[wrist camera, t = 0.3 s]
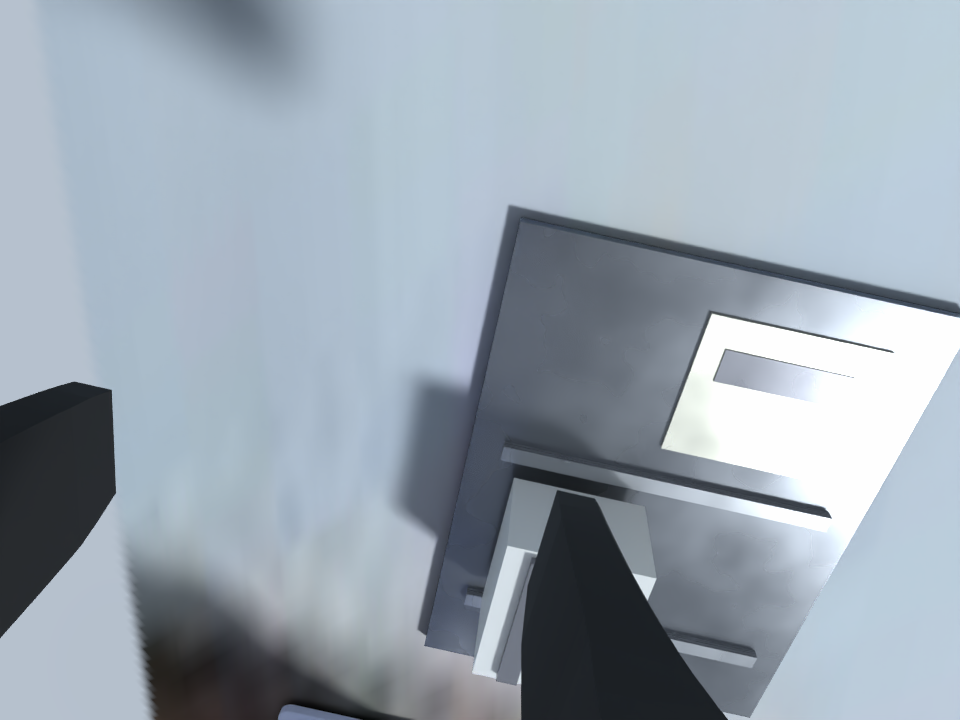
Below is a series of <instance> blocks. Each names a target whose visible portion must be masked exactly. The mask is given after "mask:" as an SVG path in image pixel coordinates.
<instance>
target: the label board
mask: <svg viewBox="0 0 960 720" xmlns="http://www.w3.org/2000/svg"><path fill="white" fill-rule="evenodd" d="M959 347H960V314H959V313H954V312H949V311H945V310H940V309H936V308H931V307H927V306H922V305H918V304H913V303H909V302H904V301H899V300H895V299H890V298H886V297H881V296H877V295H872V294H868V293H863V292H859V291H854V290H849V289H845V288H840V287H836V286H831V285H827V284H822V283H818V282H813V281H808V280H804V279H799V278H795V277H790V276H786V275H781V274H777V273H772V272H768V271H763V270H758V269H754V268H749V267H745V266H740V265H736V264H731V263H727V262H722V261H718V260H713V259H708V258H704V257H699V256H695V255H690V254H686V253H681V252H677V251H672V250H668V249H663V248H658V247H654V246H649V245H645V244H640V243H636V242H631V241H627V240H622V239H618V238H613V237H608V236H604V235H599V234H595V233H590V232H586V231H581V230H577V229H572V228H567V227H563V226H558V225H554V224H549V223H545V222H540V221H536V220H531V219H527V218H522V217H521V220H520V224H519V228H518V233H517V237H516V242H515V246H514V251H513V255H512V259H511V264H510V268H509V273H508V277H507V282H506V286H505V290H504V295H503V299H502V304H501V308H500V313H499V317H498V321H497V326H496V330H495V335H494V339H493V344H492V348H491V352H490V357H489V361H488V366H487V370H486V375H485V379H484V383H483V388H482V392H481V397H480V401H479V406H478V410H477V414H476V419H475V423H474V428H473V432H472V437H471V441H470V445H469V450H468V454H467V459H466V463H465V468H464V472H463V476H462V481H461V485H460V490H459V494H458V499H457V503H456V507H455V512H454V516H453V521H452V525H451V530H450V534H449V538H448V543H447V547H446V552H445V556H444V561H443V565H442V569H441V574H440V578H439V583H438V587H437V592H436V596H435V600H434V605H433V609H432V614H431V618H430V622H429V627H428V631H427V636H426V640H425V645H424V646H428V647H432V648H437V649H441V650H446V651H450V652H455V653H459V654H464V655H468V656H473V657H474V654H475V647H476V639H477V632H478V624H479V617H480V609H481V601H482V596H483V592H484V588H485V584H486V581H487V577H488V573H489V570H490V566H491V562H492V558H493V555H494V551H495V547H496V543H497V540H498V536H499V532H500V528H501V525H502V521H503V517H504V513H505V510H506V506H507V502H508V499H509V495H510V491H511V487H512V484H513V480H514V478H518V479H522V480H527V481H531V482H536V483H540V484H545V485H549V486H554V487H558V488H563V489H567V490H572V491H577V492H581V493H586V494H590V495H595V496H599V497H604V498H608V499H613V500H617V501H622V502H626V503H631V504H635V505H640V506H645V511H646V517H647V523H648V529H649V535H650V541H651V547H652V554H653V560H654V566H655V572H656V578H657V579H656V581H655V584H654V586H653V588H652V591H651V593H650V596H649V598H648V603H649V604H650V606H651V608H652V610H653V611H654V613H655V615H656V616H657V618H658V620H659V621H660V623H661V625H662V626H663V628H664V630H665V631H666V633H667V634H668V636H669V638H670V639H671V641H672V642H673V644H674V645H675V647H676V649H677V650H678V652H679V653H680V655H681V656H682V658H683V659H684V661H685V662H686V664H687V665H688V667H689V668H690V670H691V671H692V673H693V674H694V675H695V677H696V678H697V679H698V681H699V682H700V683H701V685H702V686H703V687H704V689H705V690H706V691H707V693H708V694H709V695H710V697H711V698H712V699H713V701H714V702H715V703H716V705H717V706H718V707H719V709H720V710H721V711H722V712H726V713H731V714H736V715H740V716H745V717H749V718H750V716H751V715H752V713H753V711H754V709H755V707H756V706H757V704H758V702H759V700H760V699H761V697H762V695H763V693H764V692H765V690H766V688H767V686H768V685H769V683H770V681H771V679H772V677H773V676H774V674H775V672H776V670H777V669H778V667H779V665H780V663H781V662H782V660H783V658H784V656H785V654H786V653H787V651H788V649H789V647H790V646H791V644H792V642H793V640H794V639H795V637H796V635H797V633H798V632H799V630H800V628H801V626H802V624H803V623H804V621H805V619H806V617H807V616H808V614H809V612H810V610H811V609H812V607H813V605H814V603H815V602H816V600H817V598H818V596H819V594H820V593H821V591H822V589H823V587H824V586H825V584H826V582H827V580H828V579H829V577H830V575H831V573H832V572H833V570H834V568H835V566H836V564H837V563H838V561H839V559H840V557H841V556H842V554H843V552H844V550H845V549H846V547H847V545H848V543H849V541H850V540H851V538H852V536H853V534H854V533H855V531H856V529H857V527H858V526H859V524H860V522H861V520H862V519H863V517H864V515H865V513H866V511H867V510H868V508H869V506H870V504H871V503H872V501H873V499H874V497H875V496H876V494H877V492H878V490H879V489H880V487H881V485H882V483H883V481H884V480H885V478H886V476H887V474H888V473H889V471H890V469H891V467H892V466H893V464H894V462H895V460H896V459H897V457H898V455H899V453H900V451H901V450H902V448H903V446H904V444H905V443H906V441H907V439H908V437H909V436H910V434H911V432H912V430H913V428H914V427H915V425H916V423H917V421H918V420H919V418H920V416H921V414H922V413H923V411H924V409H925V407H926V406H927V404H928V402H929V400H930V398H931V397H932V395H933V393H934V391H935V390H936V388H937V386H938V384H939V383H940V381H941V379H942V377H943V376H944V374H945V372H946V370H947V368H948V367H949V365H950V363H951V361H952V360H953V358H954V356H955V354H956V353H957V351H958V349H959Z"/></svg>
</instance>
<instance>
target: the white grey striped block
mask: <svg viewBox="0 0 960 720" xmlns="http://www.w3.org/2000/svg"><path fill="white" fill-rule="evenodd" d="M557 490H559V491H564V492H568V493H573V494H577V495H582V496H586V497H591V498H595V499H596V501H597V503H598V504H599V506H600V508H601V510H602V512H603V515H604V517H605V519H606V521H607V523H608V525H609V528H610V530H611V532H612V534H613V536H614V538H615V540H616V542H617V544H618V546H619V548H620V550H621V552H622V554H623V556H624V558H625V560H626V562H627V564H628V566H629V568H630V570H631V572H632V574H633V576H634V577H635V579H636V581H637V583H638V585H639V586H640V588H641V590H642V592H643V594H644V595H645V597H646V599H647V601H648V598H649V596H650V593H651V591H652V588H653V586H654V584H655V581H656V579H657V578H656V572H655V566H654V560H653V554H652V547H651V541H650V535H649V529H648V523H647V517H646V511H645V506H640V505H635V504H631V503H626V502H622V501H617V500H613V499H608V498H604V497H599V496H595V495H590V494H586V493H581V492H577V491H572V490H567V489H563V488H558V487H554V486H549V485H545V484H540V483H536V482H531V481H527V480H522V479H518V478H514V480H513V484H512V487H511V491H510V495H509V499H508V502H507V506H506V510H505V513H504V517H503V521H502V525H501V528H500V532H499V536H498V540H497V543H496V547H495V551H494V555H493V558H492V562H491V566H490V570H489V573H488V577H487V581H486V584H485V588H484V592H483V596H482V601H481V609H480V617H479V624H478V632H477V639H476V647H475V654H474V662H473V670H472V673H473V674H478V675H482V676H487V677H491V678H496V681H498V682H503V683H507V684H512V685H517V683H519V684H521V641H522V632H523V622H524V613H525V604H526V596H527V587H528V583H529V579H530V576H531V573H532V570H533V566H534V563H535V560H536V557H537V553H538V550H539V547H540V544H541V540H542V537H543V534H544V531H545V528H546V524H547V521H548V518H549V515H550V511H551V508H552V505H553V502H554V498H555V495H556V492H557Z"/></svg>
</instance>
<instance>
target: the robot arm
mask: <svg viewBox="0 0 960 720" xmlns="http://www.w3.org/2000/svg"><path fill="white" fill-rule="evenodd" d="M115 493H116V483H115V459H114V435H113V411H112V390H109V389H105V388H100V387H96V386H92V385H87V384H83V383H78V382H71V383H67V384H64V385H60V386H57V387H54V388H51V389H47V390H45V391H42V392H38V393H36V394H33V395H30V396H27V397H24V398H22V399H19V400H16V401H13V402H10V403H7V404H5V405H2V406H0V638H1V636H2V635H3V634H4V633H5V632H6V631H7V630H8V629H9V628H10V626H11V625H12V624H13V623H14V622H15V621H16V620H17V619H18V617H19V616H20V615H21V614H22V613H23V612H24V611H25V609H26V608H27V607H28V606H29V605H30V604H31V603H32V602H33V600H34V599H35V598H36V597H37V596H38V595H39V594H40V593H41V591H42V590H43V589H44V588H45V587H46V585H48V583H49V582H50V581H51V580H52V579H53V578H54V576H55V575H56V574H57V573H58V572H59V570H61V568H62V567H63V566H64V565H65V564H66V563H67V561H68V560H69V559H70V558H71V557H72V556H73V554H74V553H75V552H76V551H77V550H78V548H79V547H80V546H81V545H82V543H83V542H84V540H85V539H86V538H87V536H88V535H89V533H90V532H91V530H92V529H93V527H94V526H95V525H96V523H97V522H98V520H99V518H100V517H101V515H102V514H103V512H104V510H105V509H106V507H107V506H108V504H109V503H110V501H111V500H112V498H113V496H114V495H115ZM278 720H361V719H356V718H352V717H347V716H343V715H338V714H334V713H329V712H325V711H320V710H316V709H311V708H307V707H302V706H298V705H292V704H289V705H285V706H283V707H282V709H281V711H280V714H279V716H278ZM521 720H728V719H727V718H726V717H725V715H724V714H723V713H722V711H721V710H720V709H719V707H718V706H717V705H716V703H715V702H714V701H713V699H712V698H711V697H710V695H709V694H708V693H707V691H706V690H705V689H704V687H703V686H702V685H701V683H700V682H699V681H698V679H697V678H696V677H695V675H694V674H693V673H692V671H691V670H690V668H689V667H688V665H687V664H686V662H685V661H684V659H683V658H682V656H681V655H680V653H679V652H678V650H677V649H676V647H675V645H674V644H673V642H672V641H671V639H670V638H669V636H668V634H667V633H666V631H665V630H664V628H663V626H662V625H661V623H660V621H659V620H658V618H657V616H656V615H655V613H654V611H653V610H652V608H651V606H650V604H649V603H648V601H647V599H646V597H645V595H644V594H643V592H642V590H641V588H640V586H639V585H638V583H637V581H636V579H635V577H634V576H633V574H632V572H631V570H630V568H629V566H628V564H627V562H626V560H625V558H624V556H623V554H622V552H621V550H620V548H619V546H618V544H617V542H616V540H615V538H614V536H613V534H612V532H611V530H610V528H609V525H608V523H607V521H606V519H605V517H604V515H603V512H602V510H601V508H600V506H599V504H598V503H597V501H596V499H595V498H591V497H586V496H582V495H577V494H573V493H568V492H564V491H559V490H557V492H556V495H555V498H554V502H553V505H552V508H551V511H550V515H549V518H548V521H547V524H546V528H545V531H544V534H543V537H542V540H541V544H540V547H539V550H538V553H537V557H536V560H535V563H534V566H533V570H532V573H531V576H530V579H529V583H528V587H527V596H526V604H525V613H524V622H523V632H522V641H521Z"/></svg>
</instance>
